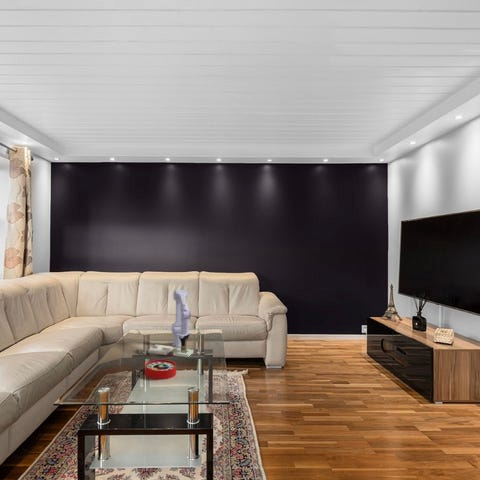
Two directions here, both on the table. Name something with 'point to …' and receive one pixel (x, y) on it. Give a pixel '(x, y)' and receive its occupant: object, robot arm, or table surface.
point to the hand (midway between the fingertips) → (183, 345)
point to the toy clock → (160, 369)
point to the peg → (184, 346)
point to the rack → (184, 354)
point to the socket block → (160, 349)
